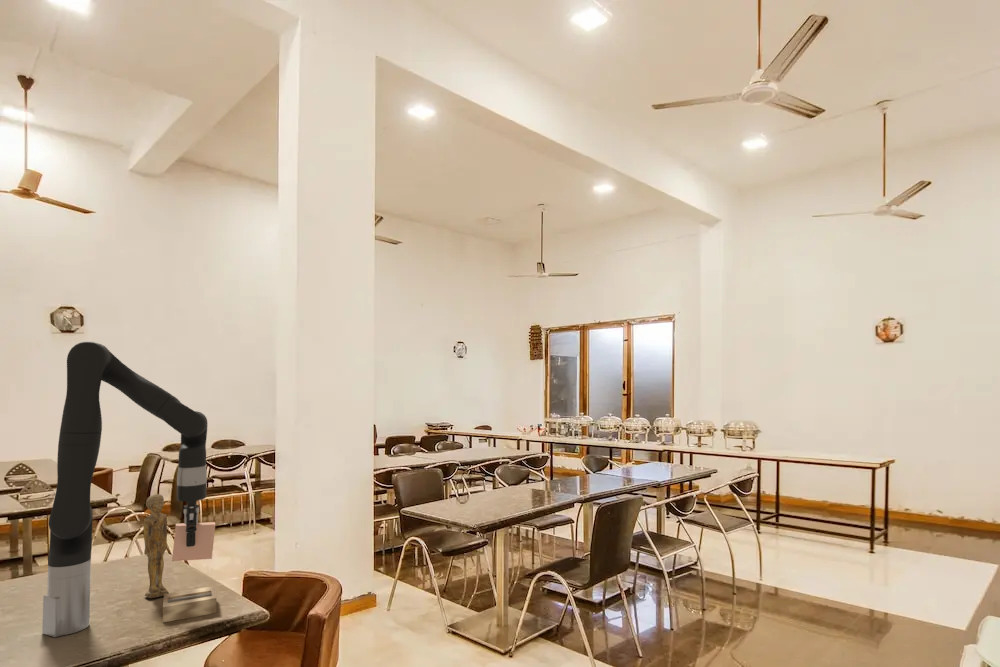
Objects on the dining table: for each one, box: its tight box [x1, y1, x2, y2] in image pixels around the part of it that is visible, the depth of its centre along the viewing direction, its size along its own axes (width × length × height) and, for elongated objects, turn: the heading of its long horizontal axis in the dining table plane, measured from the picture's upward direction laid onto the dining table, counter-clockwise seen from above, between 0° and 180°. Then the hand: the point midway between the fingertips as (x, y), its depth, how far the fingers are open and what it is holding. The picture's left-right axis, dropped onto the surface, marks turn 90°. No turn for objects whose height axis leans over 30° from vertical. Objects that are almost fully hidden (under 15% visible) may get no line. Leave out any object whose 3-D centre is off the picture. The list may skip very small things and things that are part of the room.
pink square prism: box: [171, 521, 216, 562], centre depth 171 cm, size 10×3×10 cm, turn 117°
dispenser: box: [162, 585, 217, 623], centre depth 170 cm, size 13×11×5 cm
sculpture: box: [143, 493, 170, 599], centre depth 182 cm, size 7×6×30 cm
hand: (190, 544), depth 171 cm, fingers closed on pink square prism, 2 cm apart
